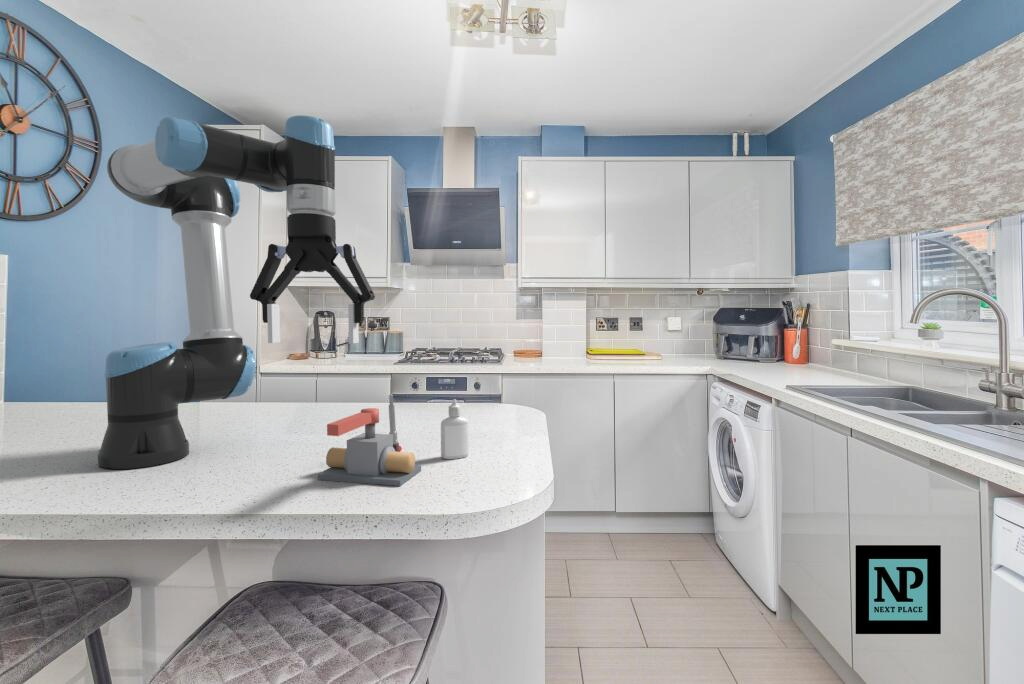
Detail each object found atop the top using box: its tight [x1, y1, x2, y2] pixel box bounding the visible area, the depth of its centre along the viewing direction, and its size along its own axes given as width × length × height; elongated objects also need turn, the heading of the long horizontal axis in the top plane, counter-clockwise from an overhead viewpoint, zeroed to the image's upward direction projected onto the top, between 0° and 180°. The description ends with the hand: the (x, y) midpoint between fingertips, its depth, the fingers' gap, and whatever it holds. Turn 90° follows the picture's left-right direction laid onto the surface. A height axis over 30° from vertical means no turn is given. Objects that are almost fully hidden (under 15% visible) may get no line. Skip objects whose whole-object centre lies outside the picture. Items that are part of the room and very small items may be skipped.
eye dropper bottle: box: [440, 399, 470, 460], centre depth 106 cm, size 4×6×12 cm
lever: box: [326, 407, 380, 437], centre depth 88 cm, size 14×3×2 cm, turn 167°
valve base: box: [317, 423, 422, 487], centre depth 94 cm, size 16×9×10 cm, turn 77°
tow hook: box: [388, 394, 403, 452], centre depth 107 cm, size 8×13×9 cm
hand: (313, 343), depth 86 cm, fingers open, 13 cm apart
